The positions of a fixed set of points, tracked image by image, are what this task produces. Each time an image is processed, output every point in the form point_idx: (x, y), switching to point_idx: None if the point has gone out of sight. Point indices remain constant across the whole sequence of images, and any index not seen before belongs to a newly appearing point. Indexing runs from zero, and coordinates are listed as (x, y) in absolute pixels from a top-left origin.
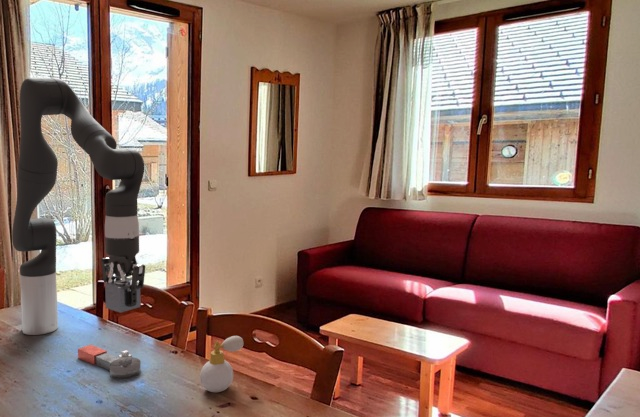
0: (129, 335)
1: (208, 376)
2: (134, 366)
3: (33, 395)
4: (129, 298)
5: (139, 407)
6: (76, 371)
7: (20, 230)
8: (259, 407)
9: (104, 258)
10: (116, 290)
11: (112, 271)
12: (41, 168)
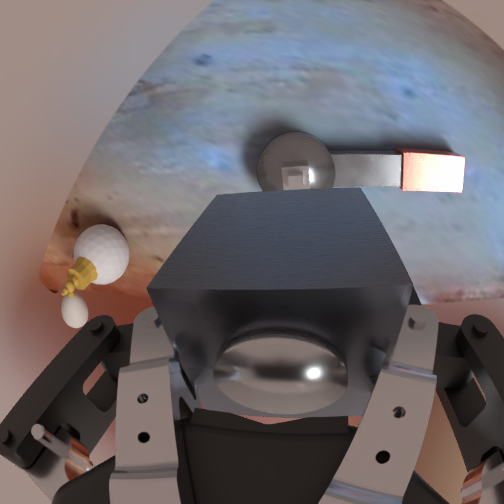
0: (448, 288)
1: (81, 235)
2: (259, 177)
3: None
4: None
5: (130, 111)
6: (393, 100)
7: None
8: (57, 243)
9: None
10: (209, 264)
11: (356, 457)
12: None
